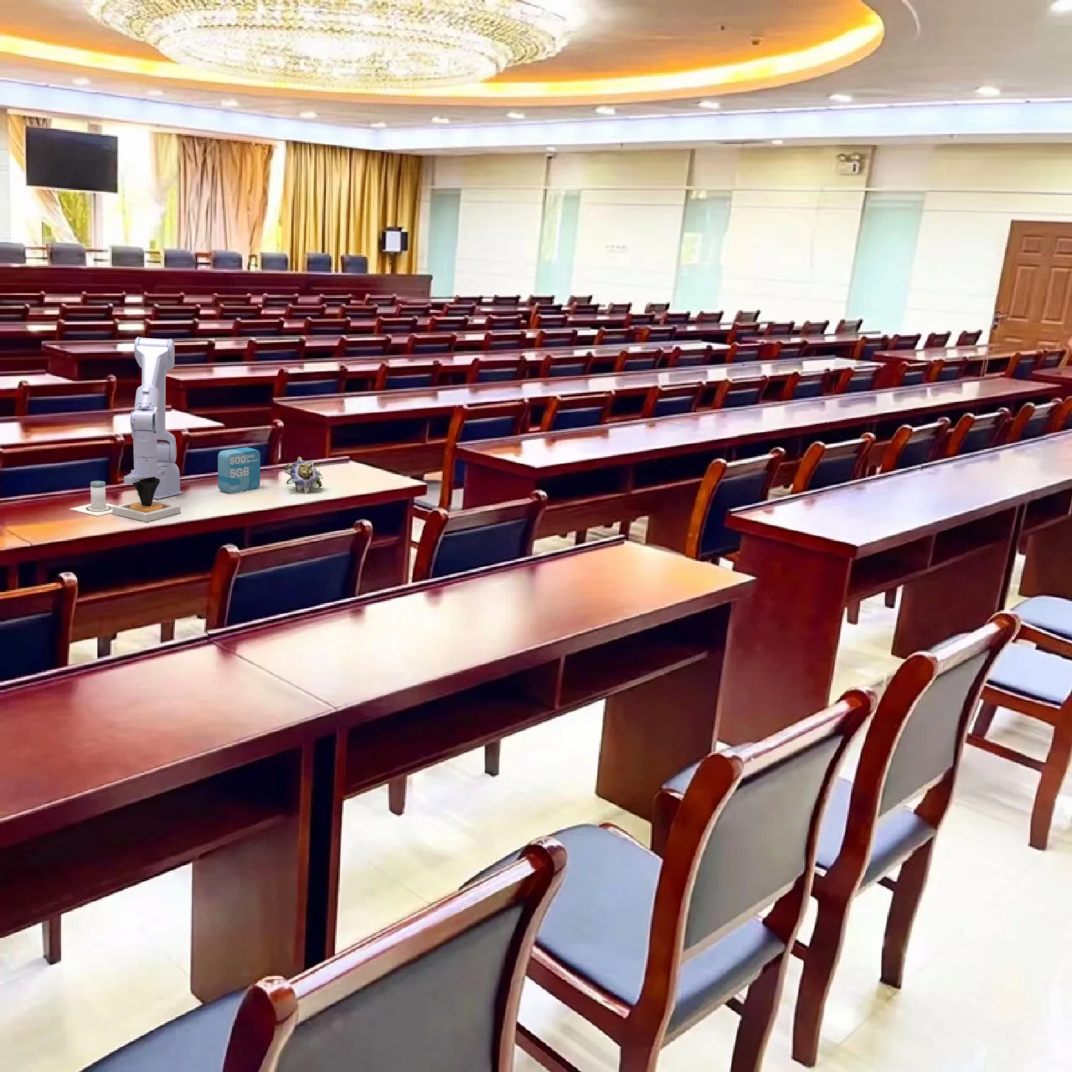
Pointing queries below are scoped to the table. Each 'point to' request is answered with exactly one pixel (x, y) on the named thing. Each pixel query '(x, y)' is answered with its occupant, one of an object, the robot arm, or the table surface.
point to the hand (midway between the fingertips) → (146, 505)
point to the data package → (238, 470)
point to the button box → (127, 512)
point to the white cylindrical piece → (98, 495)
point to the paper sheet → (90, 511)
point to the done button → (146, 509)
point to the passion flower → (303, 475)
